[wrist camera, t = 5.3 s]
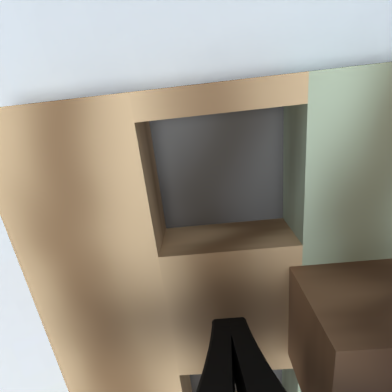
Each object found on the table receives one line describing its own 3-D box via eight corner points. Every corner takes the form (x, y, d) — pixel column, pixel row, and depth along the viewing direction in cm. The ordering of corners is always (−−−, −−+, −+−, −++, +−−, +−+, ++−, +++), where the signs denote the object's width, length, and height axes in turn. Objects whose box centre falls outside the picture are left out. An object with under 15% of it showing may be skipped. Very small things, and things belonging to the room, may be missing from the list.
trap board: (424, 63, 11) (502, 48, 8) (369, 389, 18) (402, 443, 15) (17, 110, 12) (-40, 111, 9) (110, 403, 18) (94, 457, 16)
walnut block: (412, 256, 11) (526, 339, 7) (394, 347, 12) (479, 453, 9) (289, 266, 11) (335, 351, 7) (288, 353, 13) (325, 460, 9)
